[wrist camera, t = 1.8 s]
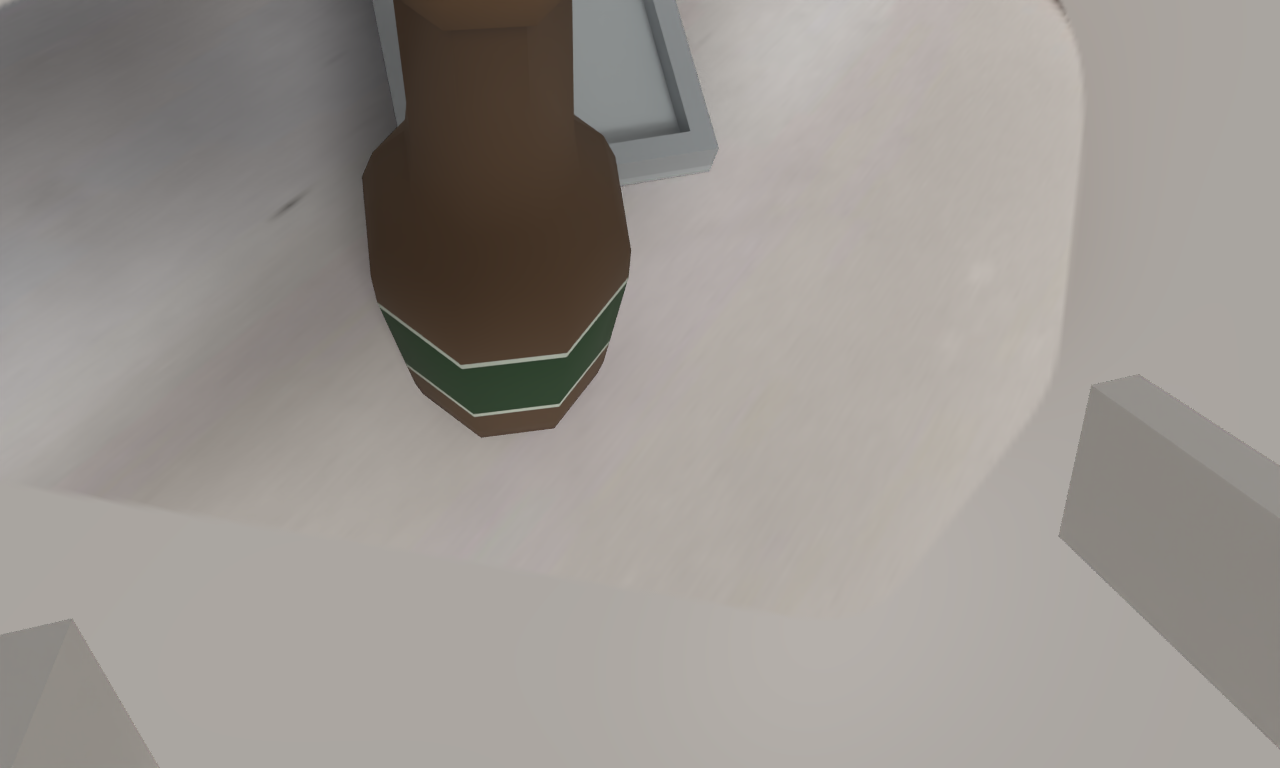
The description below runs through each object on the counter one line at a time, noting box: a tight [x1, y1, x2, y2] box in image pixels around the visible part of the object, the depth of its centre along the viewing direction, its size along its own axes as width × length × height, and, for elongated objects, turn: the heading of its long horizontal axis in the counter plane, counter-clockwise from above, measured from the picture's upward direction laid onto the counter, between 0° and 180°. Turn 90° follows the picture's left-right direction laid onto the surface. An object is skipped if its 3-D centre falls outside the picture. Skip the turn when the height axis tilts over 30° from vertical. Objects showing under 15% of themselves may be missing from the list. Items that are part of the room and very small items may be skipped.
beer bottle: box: [362, 0, 631, 437], centre depth 25 cm, size 8×8×24 cm
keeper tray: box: [372, 0, 719, 186], centre depth 39 cm, size 13×13×2 cm
